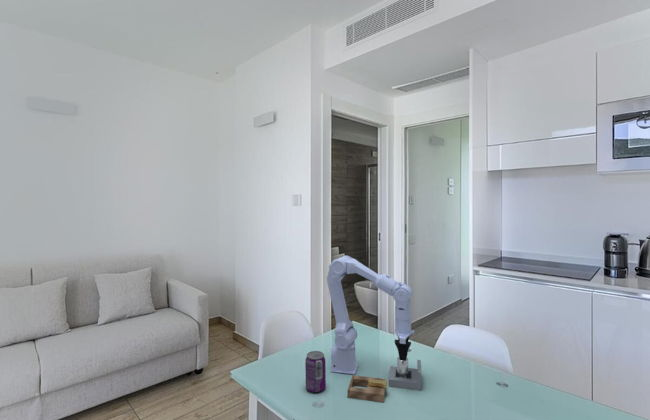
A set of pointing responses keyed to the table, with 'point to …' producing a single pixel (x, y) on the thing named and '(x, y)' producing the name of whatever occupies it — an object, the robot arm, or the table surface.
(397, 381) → the grey square frame
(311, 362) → the beverage can
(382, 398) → the socket block
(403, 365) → the steel peg
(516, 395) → the table surface
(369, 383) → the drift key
